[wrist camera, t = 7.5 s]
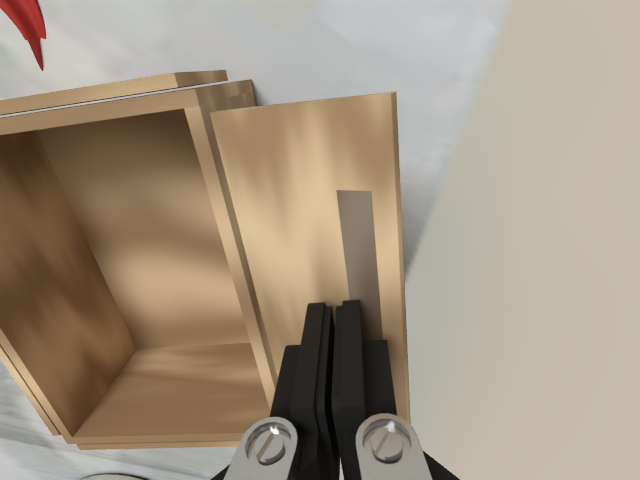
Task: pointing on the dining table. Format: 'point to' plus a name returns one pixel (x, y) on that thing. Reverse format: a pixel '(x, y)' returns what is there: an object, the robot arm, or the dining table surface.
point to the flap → (321, 215)
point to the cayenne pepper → (27, 22)
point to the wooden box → (129, 267)
